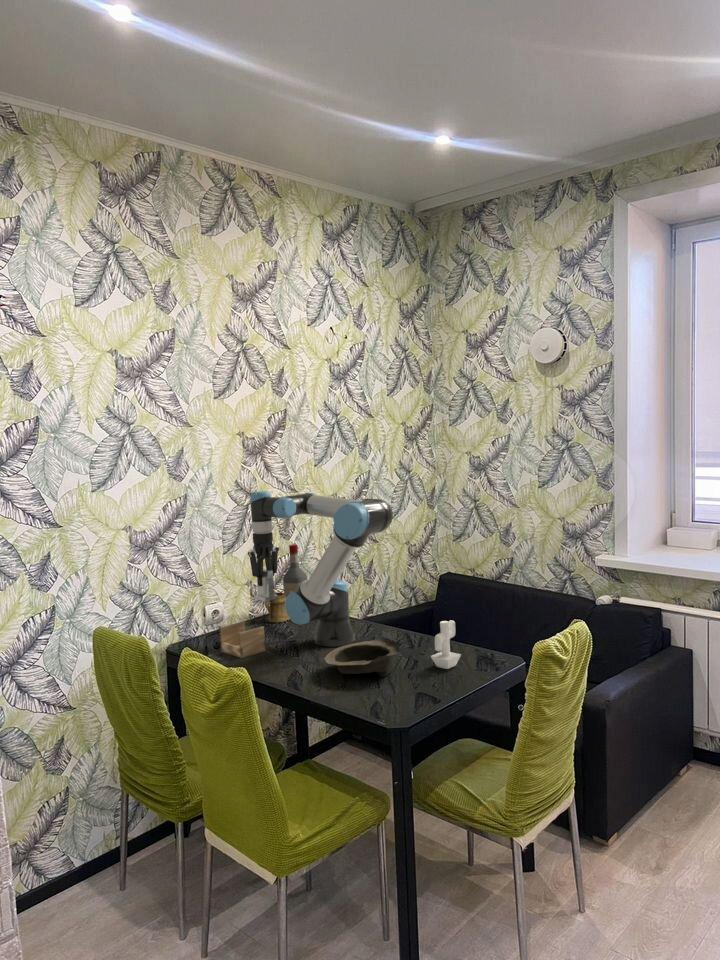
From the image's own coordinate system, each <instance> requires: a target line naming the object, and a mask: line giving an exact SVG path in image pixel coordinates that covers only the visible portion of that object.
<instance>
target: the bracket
mask: <svg viewBox="0 0 720 960" xmlns="http://www.w3.org/2000/svg"><path fill="white" fill-rule="evenodd" d="M263 577H265V592H266V595H262V594H260V590H259V586H258V581H257V580H256V581H257V585H256V586H257V594H256V595H254V598H253V599H254V600H258V601H262V602H264V601H265V602H266V601H268V602H269V601H270V600H274V599H278V595H275V594H274V593H275V586H274V576H273V571H272V570H267V569H266V568H263Z"/></svg>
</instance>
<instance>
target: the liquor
mask: <svg viewBox="0 0 720 960" xmlns="http://www.w3.org/2000/svg"><path fill="white" fill-rule="evenodd" d="M288 548H289V549H288V550H289V560H290V561H289V564H290V565H289V568H288V569H287V571H286V572H285V573H284V575H283V577H282V585H283V588H282V589H283V593H284V594H285V597H287V596H288V595H289V594H291V593H295V592H296V591H297V590H298V588H299V587H300V585H301V583H302V582H303V581H305V580H308V574H307V573H306V572H305V571H304V570H303V569H302V568H301V567H300V565H299V555H298V554H299V553H298V552H299V546H298V544H290V545H288Z"/></svg>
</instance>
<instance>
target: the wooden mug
mask: <svg viewBox="0 0 720 960" xmlns="http://www.w3.org/2000/svg"><path fill="white" fill-rule="evenodd" d="M274 594H275V595H278V599H274V600H270V601H266V602H265V601H263V604H264V606H265V608H266V610H267V611H268V619H267V621H268V622H269V623H271V622H273V624H279V622H282V623H285V622H284V621H286V622H288V621H289V620H291V619H290V618H289V617H288V615H287V612H286V608H285V600H286V597H285V594H284V592H274ZM287 620H288V621H287ZM274 622H275V623H274Z"/></svg>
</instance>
